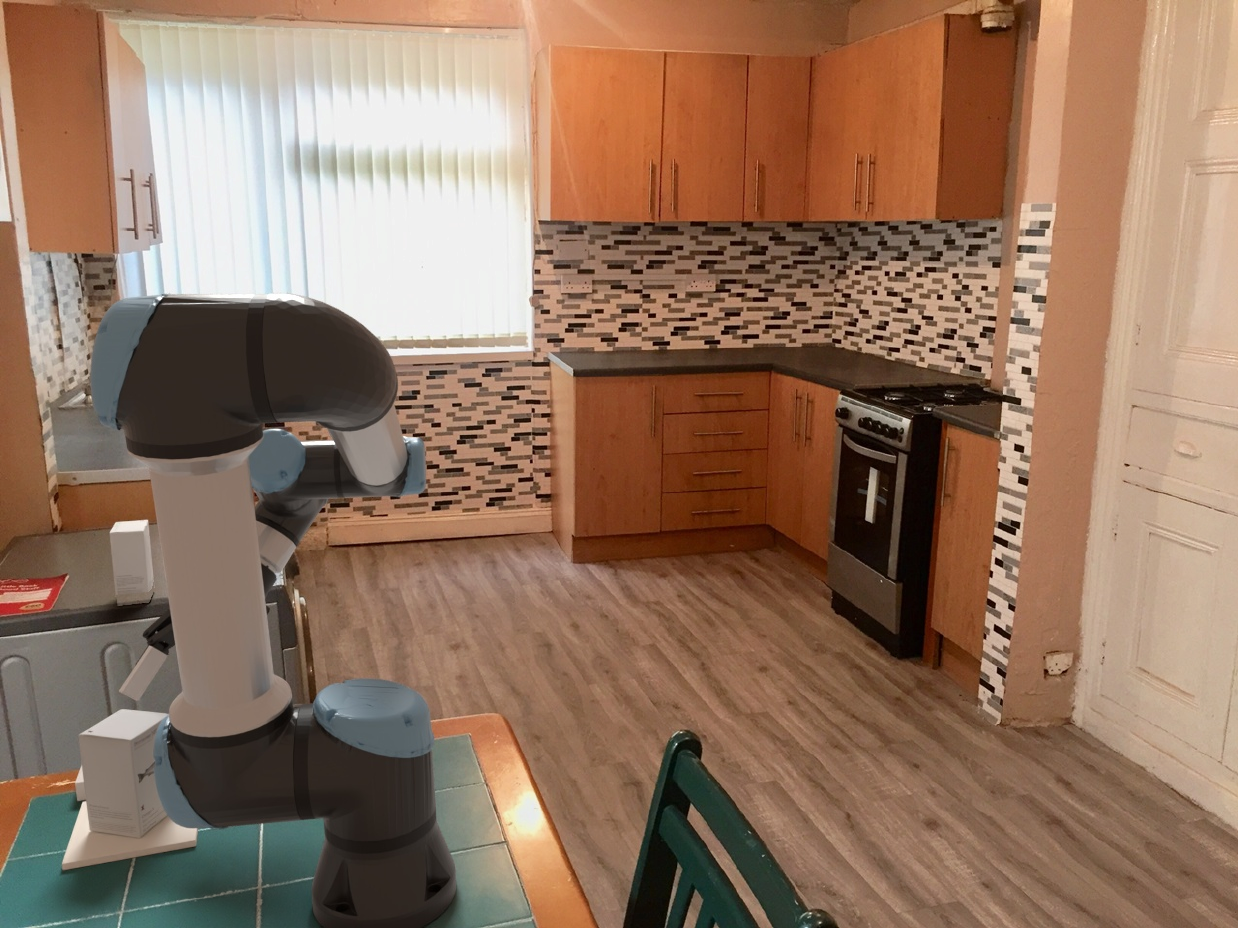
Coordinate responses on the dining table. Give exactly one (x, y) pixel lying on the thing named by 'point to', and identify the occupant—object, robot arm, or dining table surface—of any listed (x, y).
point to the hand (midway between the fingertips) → (157, 710)
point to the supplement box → (121, 773)
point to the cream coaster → (122, 842)
